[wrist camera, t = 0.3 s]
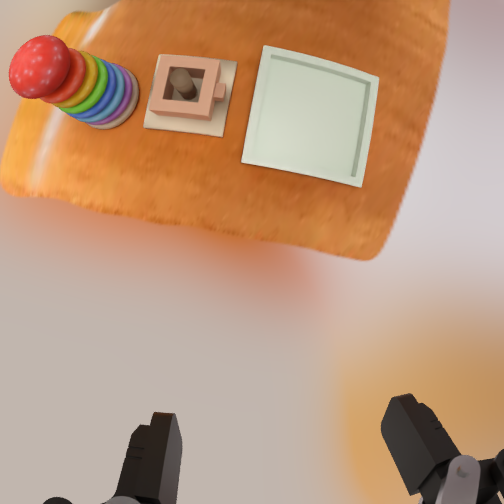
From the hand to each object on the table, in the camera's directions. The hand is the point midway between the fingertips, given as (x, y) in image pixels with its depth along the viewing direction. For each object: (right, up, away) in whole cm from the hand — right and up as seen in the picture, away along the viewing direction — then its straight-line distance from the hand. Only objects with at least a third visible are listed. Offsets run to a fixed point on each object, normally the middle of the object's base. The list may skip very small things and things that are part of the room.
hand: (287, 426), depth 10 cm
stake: (-8, +24, +21) cm, 33 cm away
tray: (+6, +22, +23) cm, 32 cm away
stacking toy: (-18, +25, +21) cm, 37 cm away
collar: (-8, +24, +20) cm, 32 cm away
